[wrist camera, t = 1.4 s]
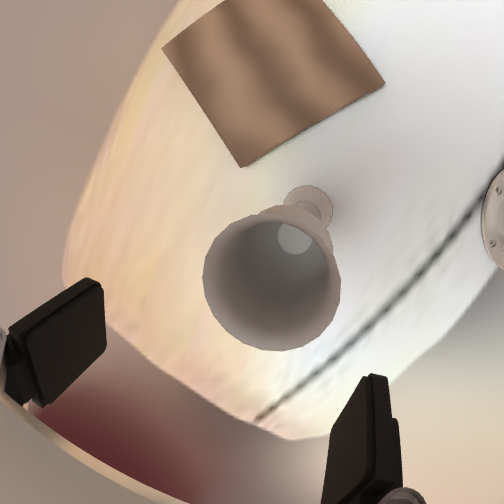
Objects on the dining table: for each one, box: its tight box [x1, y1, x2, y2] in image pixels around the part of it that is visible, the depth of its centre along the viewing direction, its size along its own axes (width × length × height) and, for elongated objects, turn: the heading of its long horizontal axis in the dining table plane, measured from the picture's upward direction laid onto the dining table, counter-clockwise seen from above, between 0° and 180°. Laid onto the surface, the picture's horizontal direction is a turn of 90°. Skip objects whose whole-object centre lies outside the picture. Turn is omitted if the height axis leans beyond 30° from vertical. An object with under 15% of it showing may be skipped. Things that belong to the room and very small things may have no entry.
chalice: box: [202, 186, 341, 351], centre depth 23 cm, size 7×7×18 cm
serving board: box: [161, 0, 385, 168], centre depth 26 cm, size 16×16×2 cm
